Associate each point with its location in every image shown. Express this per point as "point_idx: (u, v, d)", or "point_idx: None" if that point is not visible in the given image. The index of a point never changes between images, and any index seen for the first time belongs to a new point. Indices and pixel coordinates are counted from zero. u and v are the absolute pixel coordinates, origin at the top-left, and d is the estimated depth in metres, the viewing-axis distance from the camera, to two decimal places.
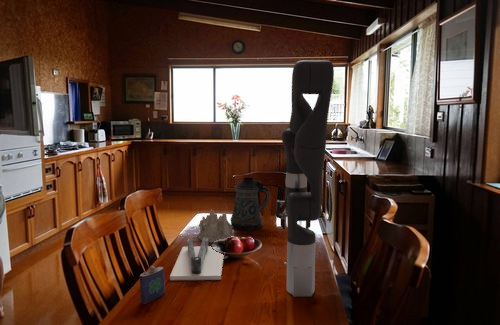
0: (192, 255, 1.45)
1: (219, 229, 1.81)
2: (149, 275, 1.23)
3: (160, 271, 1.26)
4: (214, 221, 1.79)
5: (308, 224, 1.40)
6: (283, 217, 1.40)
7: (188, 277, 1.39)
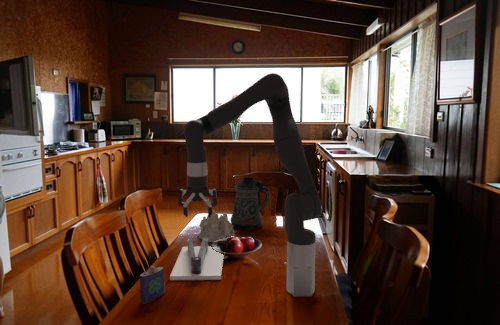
0: (192, 255, 1.45)
1: (220, 229, 1.81)
2: (149, 275, 1.23)
3: (160, 271, 1.26)
4: (215, 221, 1.79)
5: (209, 212, 1.46)
6: (185, 205, 1.46)
7: (188, 277, 1.39)
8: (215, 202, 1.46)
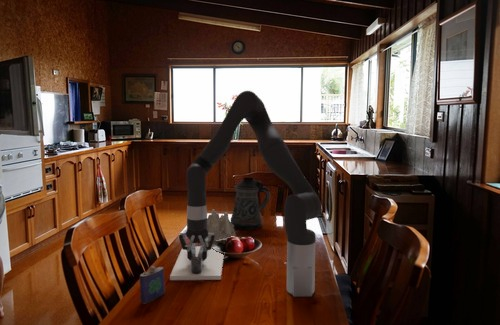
0: (193, 255, 1.45)
1: (221, 228, 1.82)
2: (149, 275, 1.23)
3: (160, 271, 1.26)
4: (216, 220, 1.80)
5: (204, 256, 1.48)
6: (189, 249, 1.48)
7: (188, 277, 1.39)
8: (210, 246, 1.48)
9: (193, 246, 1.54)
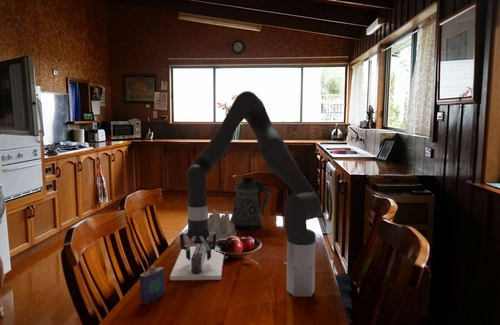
0: (194, 255, 1.45)
1: (222, 228, 1.82)
2: (149, 275, 1.23)
3: (160, 271, 1.26)
4: (217, 220, 1.80)
5: (208, 255, 1.48)
6: (187, 249, 1.48)
7: (188, 277, 1.39)
8: (214, 246, 1.48)
9: (197, 246, 1.54)
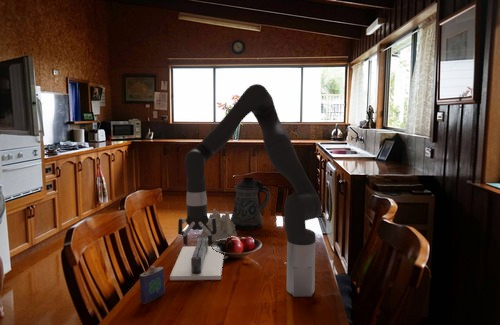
0: (194, 255, 1.45)
1: (222, 228, 1.82)
2: (149, 275, 1.23)
3: (160, 271, 1.26)
4: (217, 220, 1.80)
5: (209, 240, 1.47)
6: (185, 234, 1.46)
7: (188, 277, 1.39)
8: (215, 230, 1.46)
9: (197, 246, 1.54)
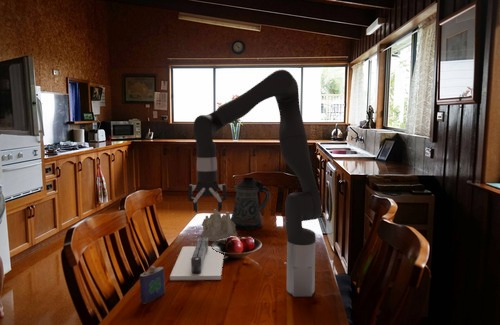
0: (194, 255, 1.45)
1: (223, 228, 1.83)
2: (149, 275, 1.23)
3: (160, 271, 1.26)
4: (218, 220, 1.81)
5: (219, 207, 1.47)
6: (195, 200, 1.46)
7: (188, 277, 1.39)
8: (225, 197, 1.46)
9: (197, 246, 1.54)
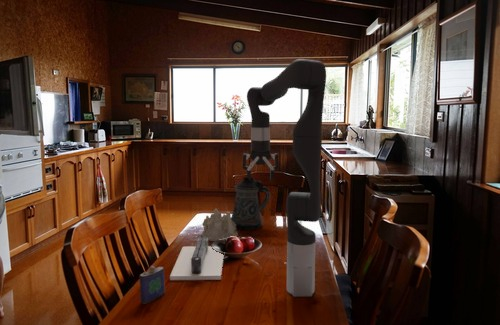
0: (194, 255, 1.45)
1: (223, 228, 1.83)
2: (149, 275, 1.23)
3: (160, 271, 1.26)
4: (218, 220, 1.81)
5: (272, 175, 1.55)
6: (249, 168, 1.54)
7: (188, 277, 1.39)
8: (277, 165, 1.54)
9: (197, 246, 1.54)
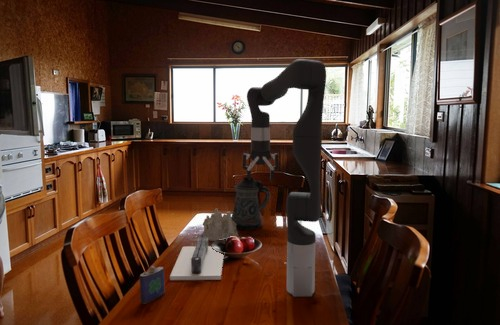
0: (194, 255, 1.45)
1: (224, 227, 1.83)
2: (149, 275, 1.23)
3: (160, 271, 1.26)
4: (219, 219, 1.81)
5: (272, 175, 1.55)
6: (249, 168, 1.54)
7: (188, 277, 1.39)
8: (277, 165, 1.54)
9: (197, 246, 1.54)
